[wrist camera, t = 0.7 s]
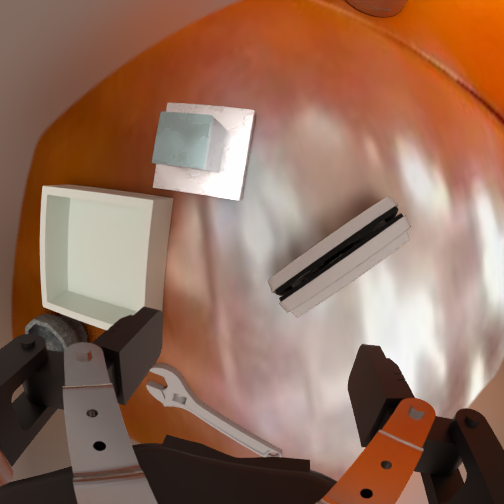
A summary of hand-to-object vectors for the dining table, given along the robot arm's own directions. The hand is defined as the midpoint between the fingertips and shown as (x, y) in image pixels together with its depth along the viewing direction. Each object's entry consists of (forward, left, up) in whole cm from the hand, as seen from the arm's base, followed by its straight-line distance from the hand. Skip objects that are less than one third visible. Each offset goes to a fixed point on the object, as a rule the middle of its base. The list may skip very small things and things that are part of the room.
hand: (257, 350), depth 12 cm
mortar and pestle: (+20, -29, -24) cm, 42 cm away
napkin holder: (0, +7, -25) cm, 26 cm away
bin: (+5, -21, -24) cm, 32 cm away
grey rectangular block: (-9, -10, -22) cm, 26 cm away
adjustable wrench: (+28, -4, -25) cm, 38 cm away
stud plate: (-9, -10, -24) cm, 27 cm away
